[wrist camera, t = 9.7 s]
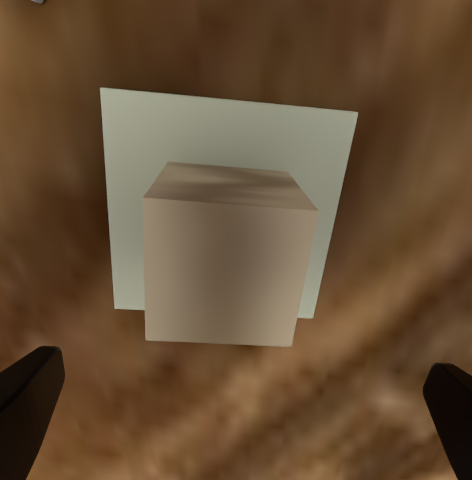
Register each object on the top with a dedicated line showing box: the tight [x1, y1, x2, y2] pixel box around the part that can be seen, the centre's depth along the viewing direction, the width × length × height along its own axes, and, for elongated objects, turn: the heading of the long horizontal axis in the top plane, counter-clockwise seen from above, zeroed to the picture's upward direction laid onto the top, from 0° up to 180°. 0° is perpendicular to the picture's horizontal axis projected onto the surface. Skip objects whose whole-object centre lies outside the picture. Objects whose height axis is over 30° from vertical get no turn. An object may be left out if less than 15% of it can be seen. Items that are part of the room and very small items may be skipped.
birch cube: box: [143, 162, 319, 347], centre depth 16 cm, size 6×6×6 cm
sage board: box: [100, 88, 358, 318], centre depth 19 cm, size 12×12×1 cm
